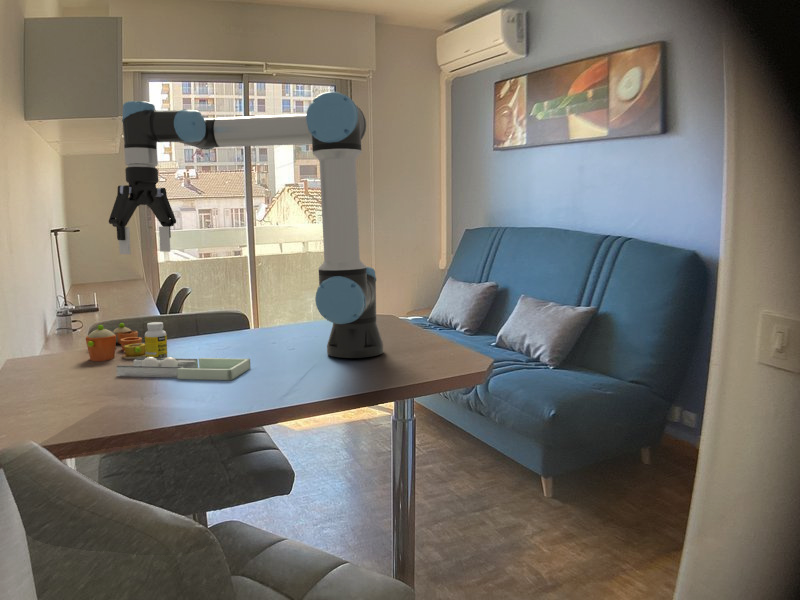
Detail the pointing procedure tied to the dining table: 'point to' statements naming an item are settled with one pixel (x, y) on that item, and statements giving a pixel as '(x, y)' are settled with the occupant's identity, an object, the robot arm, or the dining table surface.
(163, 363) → the chip ball
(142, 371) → the slot rails
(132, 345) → the toy tea set
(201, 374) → the tray
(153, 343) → the supplement bottle
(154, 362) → the chip ball
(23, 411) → the dining table surface
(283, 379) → the dining table surface
